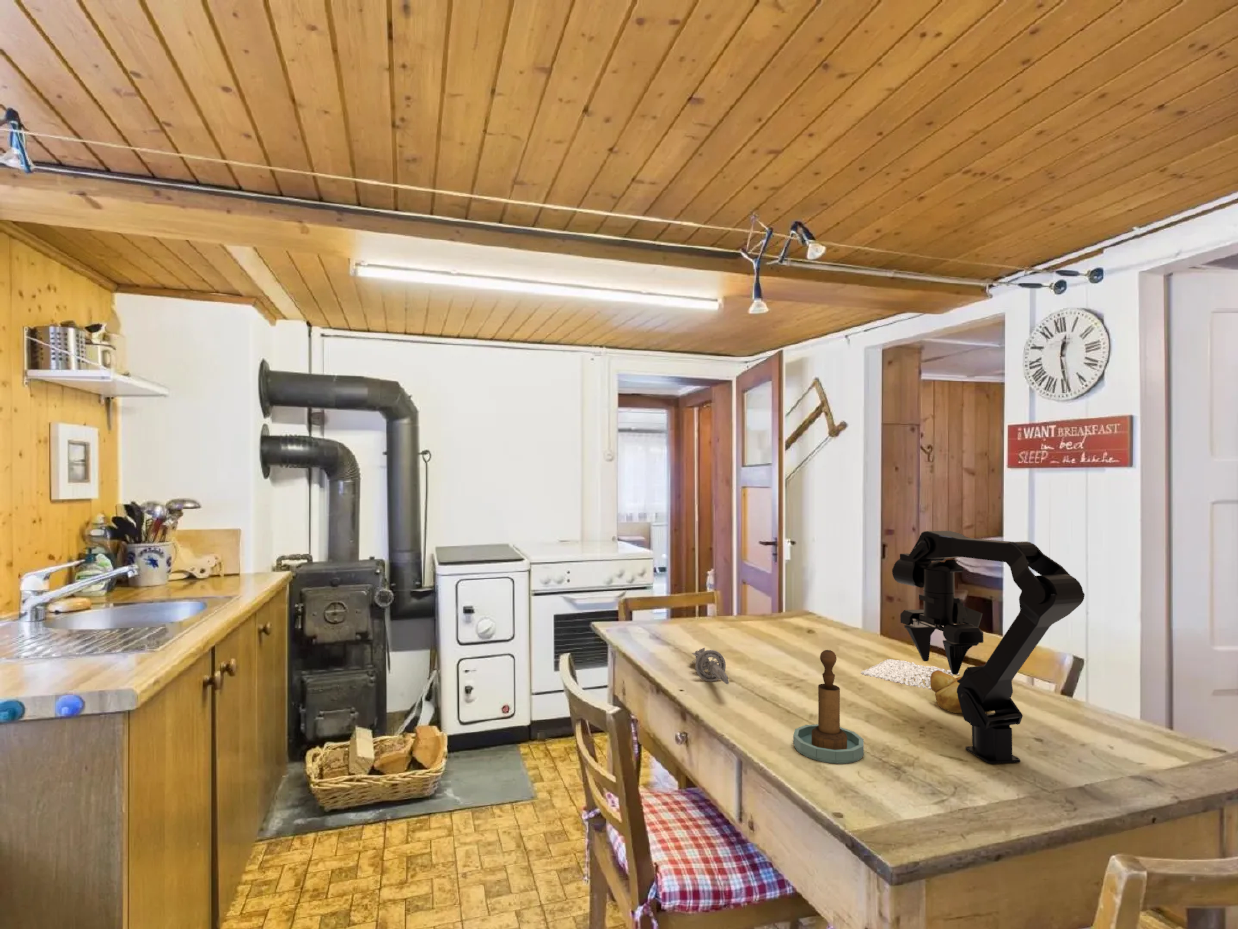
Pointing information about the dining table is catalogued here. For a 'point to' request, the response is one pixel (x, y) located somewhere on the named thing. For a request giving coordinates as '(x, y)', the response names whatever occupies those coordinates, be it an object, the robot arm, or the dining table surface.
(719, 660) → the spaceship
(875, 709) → the dining table surface
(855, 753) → the glazed dish
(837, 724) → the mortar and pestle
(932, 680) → the bread roll
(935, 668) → the salt crystals
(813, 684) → the dining table surface
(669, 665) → the dining table surface
